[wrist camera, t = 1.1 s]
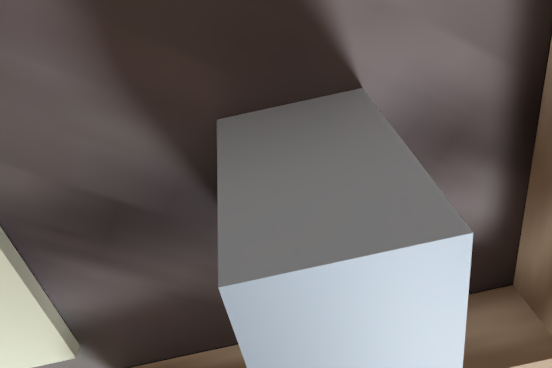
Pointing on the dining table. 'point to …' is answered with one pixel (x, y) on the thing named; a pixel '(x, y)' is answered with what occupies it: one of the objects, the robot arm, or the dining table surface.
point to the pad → (28, 317)
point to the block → (337, 241)
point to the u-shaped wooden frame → (493, 303)
